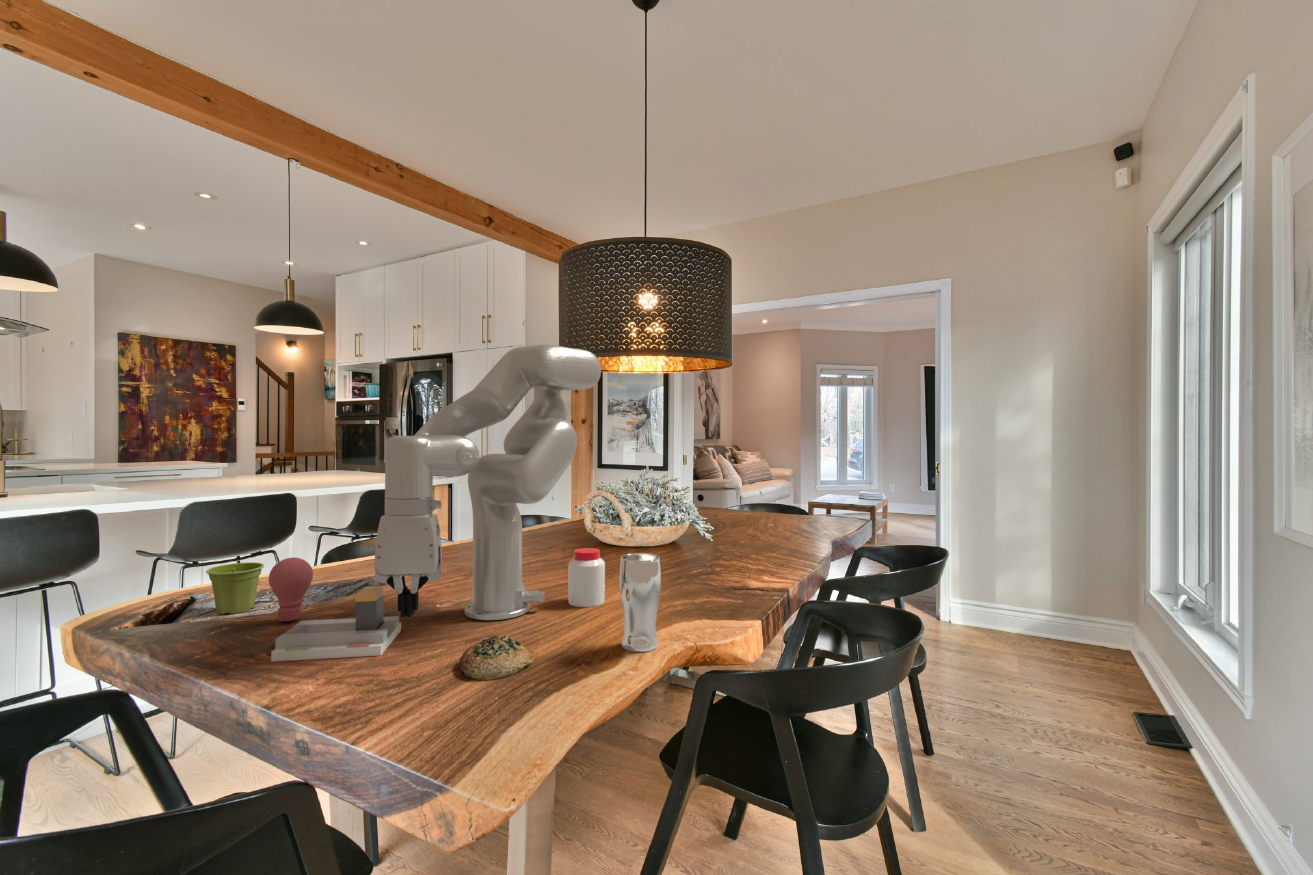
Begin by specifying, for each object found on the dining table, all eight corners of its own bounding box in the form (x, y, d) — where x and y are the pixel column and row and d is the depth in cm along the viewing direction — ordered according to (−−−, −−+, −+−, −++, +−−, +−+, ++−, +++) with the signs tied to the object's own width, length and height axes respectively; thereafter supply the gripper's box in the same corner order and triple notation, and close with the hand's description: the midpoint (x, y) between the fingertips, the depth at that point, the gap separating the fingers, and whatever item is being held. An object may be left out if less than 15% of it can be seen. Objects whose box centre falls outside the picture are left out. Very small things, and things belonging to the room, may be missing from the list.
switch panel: (401, 630, 104) (401, 613, 104) (380, 655, 92) (380, 636, 92) (304, 635, 102) (304, 618, 102) (271, 661, 90) (271, 642, 90)
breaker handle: (384, 627, 100) (384, 586, 100) (375, 637, 96) (375, 593, 96) (364, 628, 100) (364, 587, 100) (354, 638, 95) (354, 594, 95)
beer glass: (629, 656, 92) (630, 562, 92) (612, 642, 99) (613, 554, 98) (668, 649, 96) (668, 558, 96) (649, 636, 102) (649, 551, 102)
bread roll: (472, 650, 94) (476, 621, 94) (538, 661, 94) (542, 631, 94) (444, 682, 83) (448, 649, 83) (519, 694, 83) (524, 661, 83)
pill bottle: (589, 609, 117) (589, 555, 117) (560, 603, 121) (560, 551, 121) (612, 600, 124) (612, 549, 124) (584, 595, 128) (584, 545, 128)
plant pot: (272, 608, 117) (272, 565, 117) (218, 620, 109) (218, 575, 109) (251, 601, 122) (251, 560, 122) (197, 612, 114) (197, 568, 114)
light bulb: (321, 615, 113) (321, 554, 113) (295, 627, 105) (295, 562, 105) (287, 614, 113) (287, 553, 113) (259, 626, 106) (259, 561, 106)
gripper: (458, 504, 104) (457, 606, 104) (369, 505, 101) (368, 610, 101) (450, 509, 96) (449, 619, 96) (354, 511, 94) (353, 624, 94)
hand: (408, 614), depth 99 cm, fingers closed
